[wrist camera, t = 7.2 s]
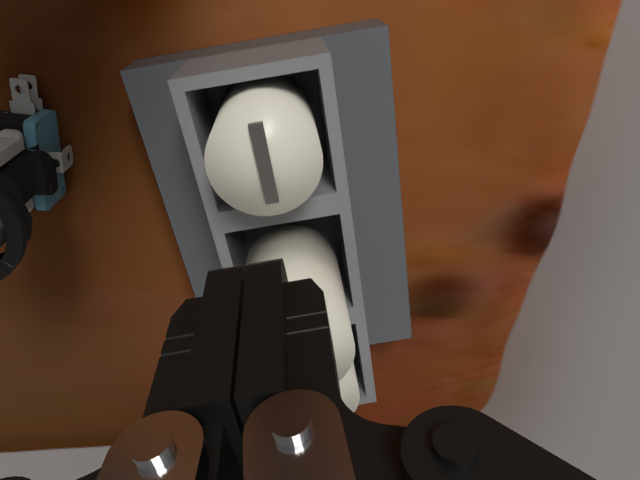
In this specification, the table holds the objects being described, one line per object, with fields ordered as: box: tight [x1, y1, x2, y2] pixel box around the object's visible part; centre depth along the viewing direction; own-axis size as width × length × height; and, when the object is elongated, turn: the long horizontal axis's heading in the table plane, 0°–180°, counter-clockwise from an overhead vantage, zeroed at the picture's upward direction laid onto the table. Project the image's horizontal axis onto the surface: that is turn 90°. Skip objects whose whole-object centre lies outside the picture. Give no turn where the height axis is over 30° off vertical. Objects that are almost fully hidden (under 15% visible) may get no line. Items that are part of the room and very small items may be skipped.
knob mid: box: [246, 225, 355, 381], centre depth 20 cm, size 4×4×6 cm
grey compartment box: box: [120, 19, 412, 405], centre depth 26 cm, size 18×12×8 cm, turn 9°
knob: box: [204, 75, 323, 216], centre depth 20 cm, size 4×4×6 cm
